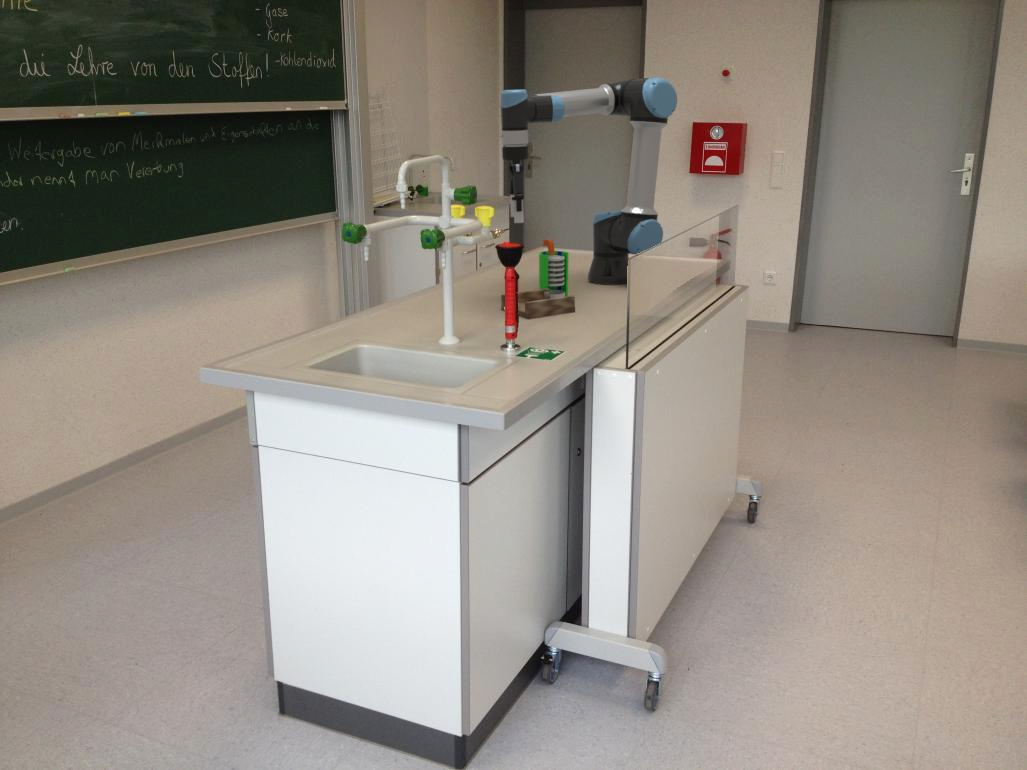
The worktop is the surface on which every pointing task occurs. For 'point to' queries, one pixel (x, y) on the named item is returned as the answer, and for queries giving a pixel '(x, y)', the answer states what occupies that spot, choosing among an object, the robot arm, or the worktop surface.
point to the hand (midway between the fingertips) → (517, 219)
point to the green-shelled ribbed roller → (553, 270)
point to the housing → (542, 304)
